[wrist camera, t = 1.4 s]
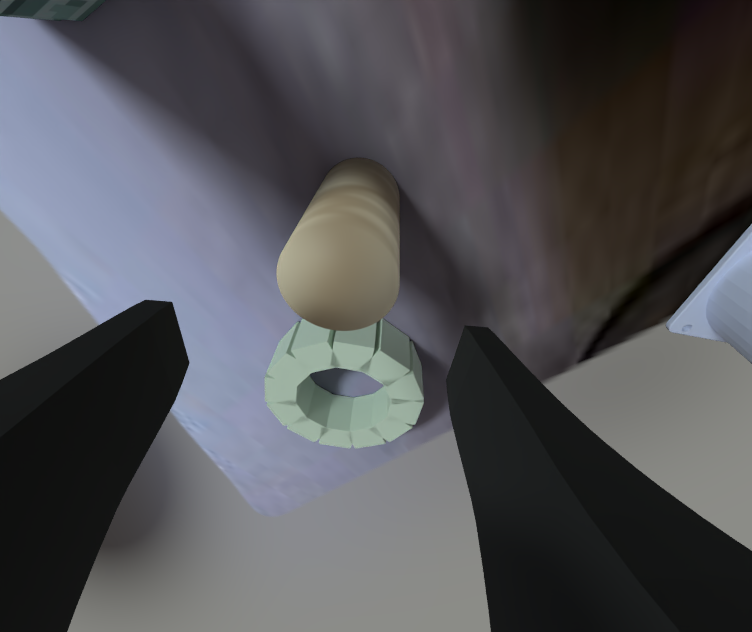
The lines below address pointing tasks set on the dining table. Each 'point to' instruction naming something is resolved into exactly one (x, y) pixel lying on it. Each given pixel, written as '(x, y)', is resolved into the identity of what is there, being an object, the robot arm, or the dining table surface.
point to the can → (49, 9)
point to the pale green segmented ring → (341, 413)
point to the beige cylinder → (345, 249)
